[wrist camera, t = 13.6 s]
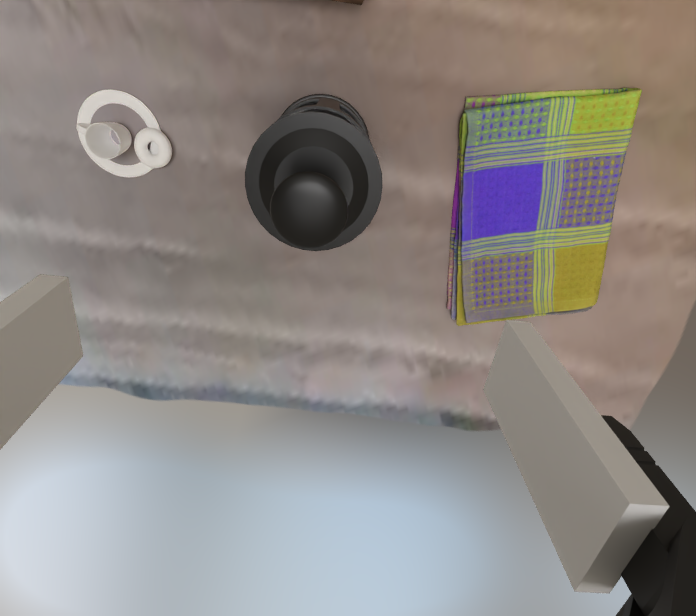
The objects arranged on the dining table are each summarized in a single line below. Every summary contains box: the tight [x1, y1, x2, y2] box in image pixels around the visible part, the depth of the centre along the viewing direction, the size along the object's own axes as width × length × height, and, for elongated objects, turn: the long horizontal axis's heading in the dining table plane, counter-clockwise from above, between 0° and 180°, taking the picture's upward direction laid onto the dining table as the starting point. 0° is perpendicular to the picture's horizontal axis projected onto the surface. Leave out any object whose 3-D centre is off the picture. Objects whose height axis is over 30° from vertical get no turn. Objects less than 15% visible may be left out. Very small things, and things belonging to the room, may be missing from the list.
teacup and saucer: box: [76, 90, 172, 177], centre depth 42 cm, size 9×8×4 cm
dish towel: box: [447, 88, 642, 326], centre depth 47 cm, size 18×24×3 cm
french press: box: [245, 94, 382, 251], centre depth 34 cm, size 12×9×23 cm
